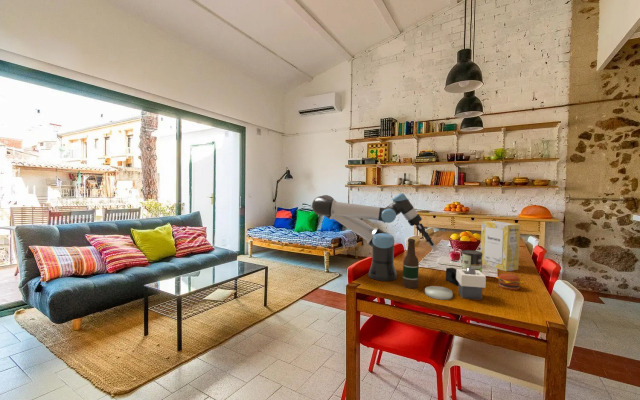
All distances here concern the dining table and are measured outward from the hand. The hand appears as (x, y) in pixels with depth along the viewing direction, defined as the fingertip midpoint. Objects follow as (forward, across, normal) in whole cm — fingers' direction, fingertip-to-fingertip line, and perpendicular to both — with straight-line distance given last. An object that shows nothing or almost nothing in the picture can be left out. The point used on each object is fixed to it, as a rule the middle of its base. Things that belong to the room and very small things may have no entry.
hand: (434, 247), depth 170 cm
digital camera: (+17, -15, +3) cm, 23 cm away
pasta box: (+38, +27, -26) cm, 53 cm away
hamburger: (+33, -14, -18) cm, 40 cm away
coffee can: (+24, 0, -7) cm, 25 cm away
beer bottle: (+4, -25, +21) cm, 33 cm away
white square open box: (+14, -32, -3) cm, 35 cm away
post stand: (+19, -32, 0) cm, 37 cm away
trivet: (+11, -34, +11) cm, 38 cm away
